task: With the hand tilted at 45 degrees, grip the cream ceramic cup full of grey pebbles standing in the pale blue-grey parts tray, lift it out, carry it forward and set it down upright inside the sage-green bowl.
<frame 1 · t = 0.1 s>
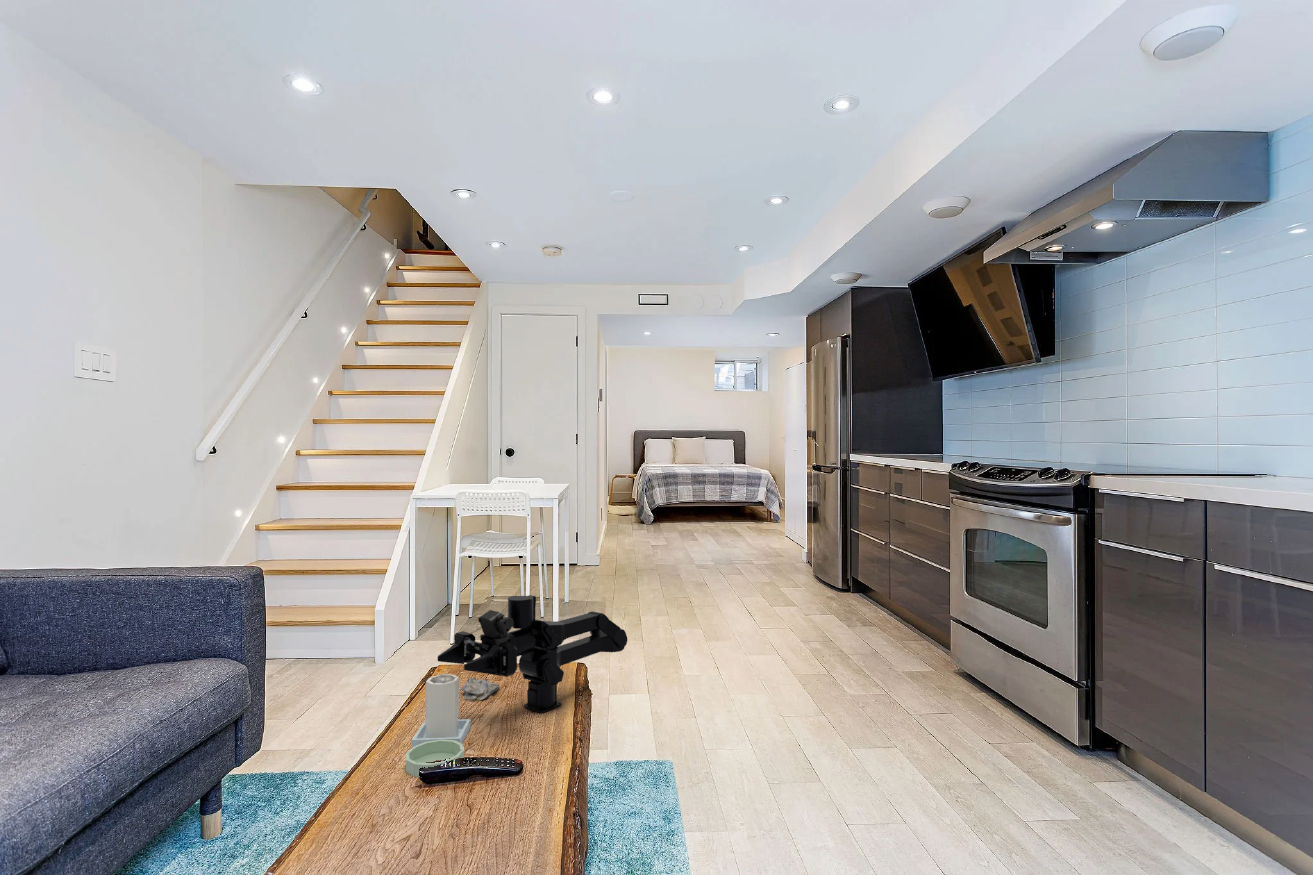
hand: (450, 662, 133), 17 cm above the table, fingers open, 9 cm apart
mineral specimen: (479, 695, 161), on the table
pebble cup: (442, 737, 134), point 1 cm above the table, touching parts tray
parts tray: (442, 741, 134), on the table
bowl: (435, 767, 123), on the table
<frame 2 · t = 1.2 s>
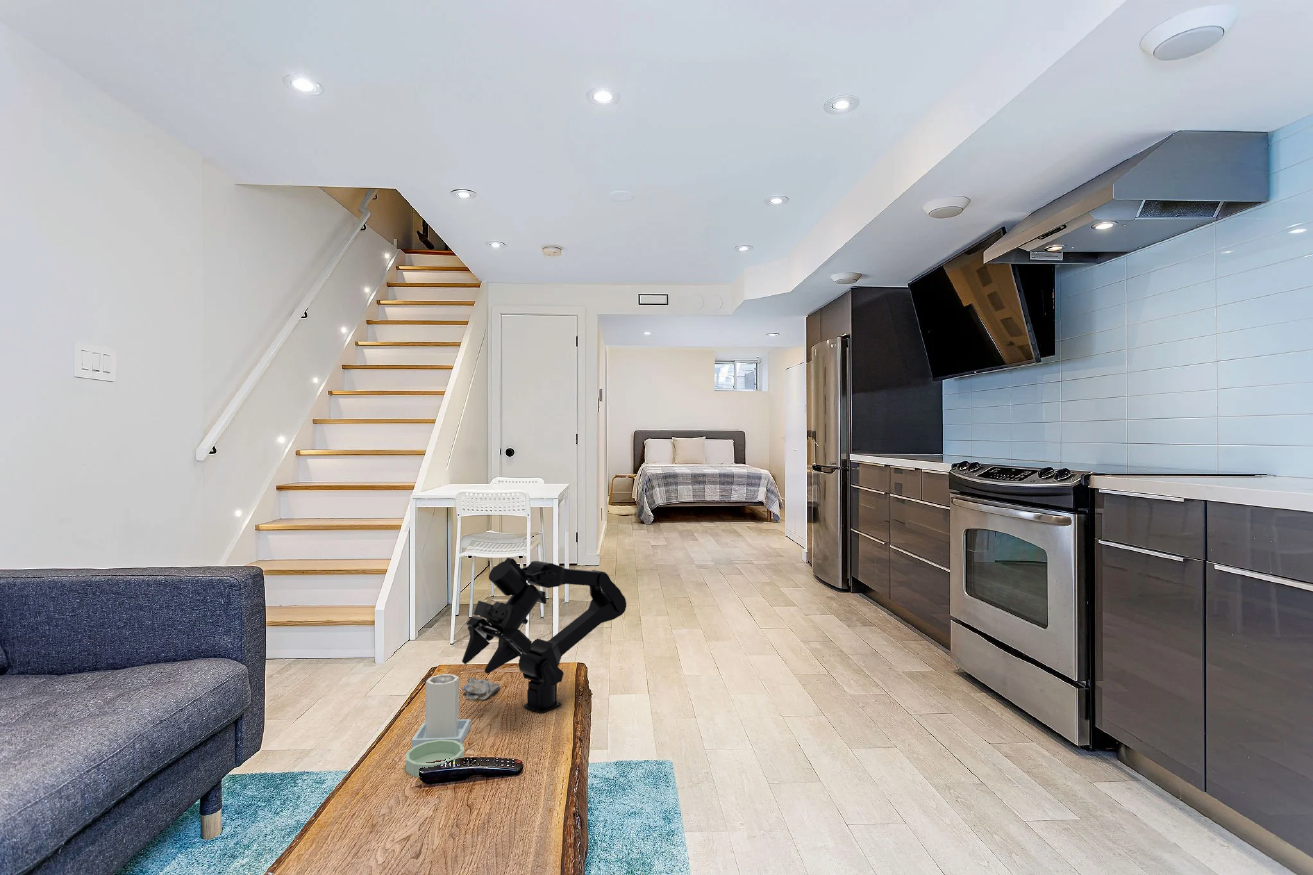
hand: (474, 667, 140), 13 cm above the table, fingers open, 9 cm apart
nothing on the table moved.
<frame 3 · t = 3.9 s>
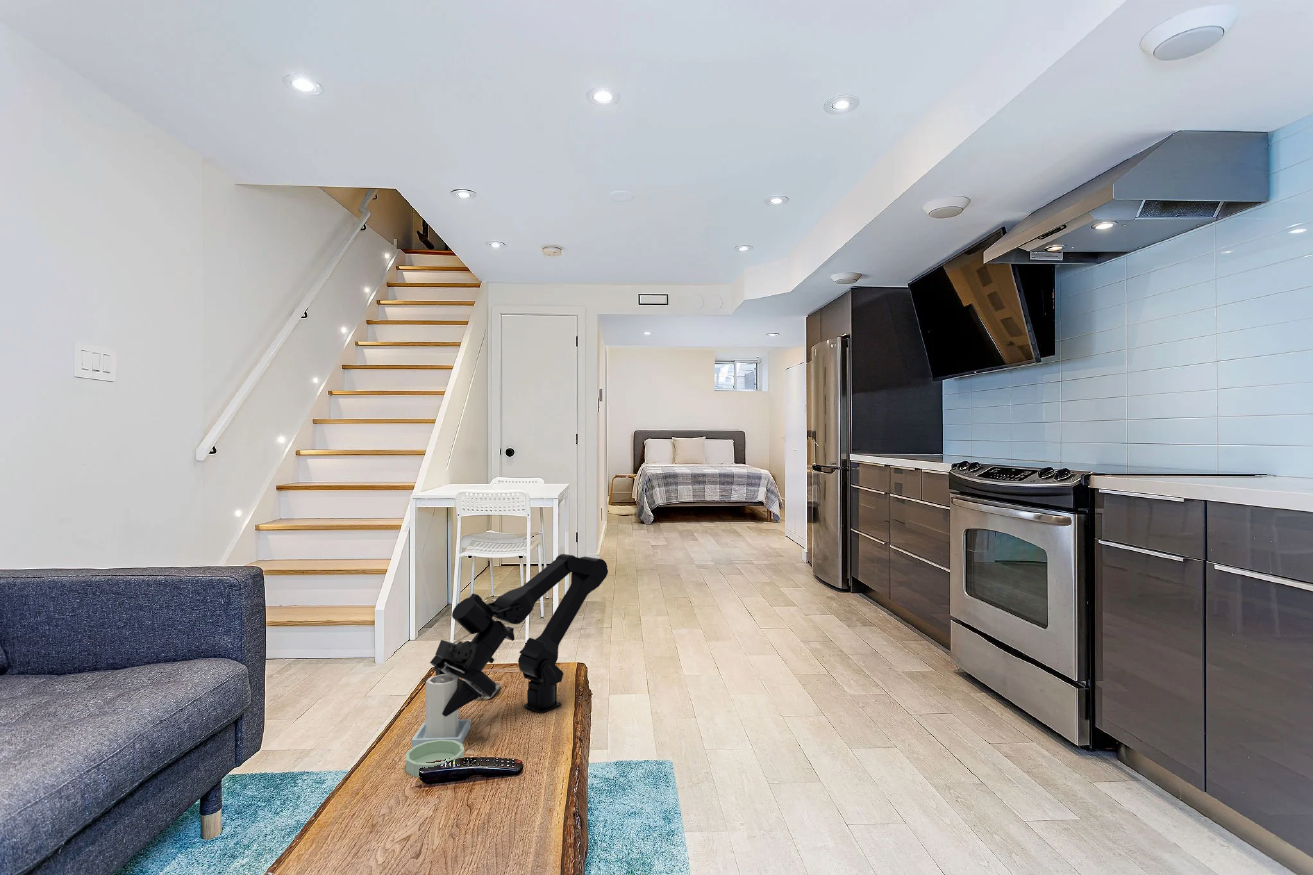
hand: (436, 711, 133), 7 cm above the table, fingers closed on pebble cup, 6 cm apart
pebble cup: (442, 737, 134), point 1 cm above the table, touching gripper, parts tray
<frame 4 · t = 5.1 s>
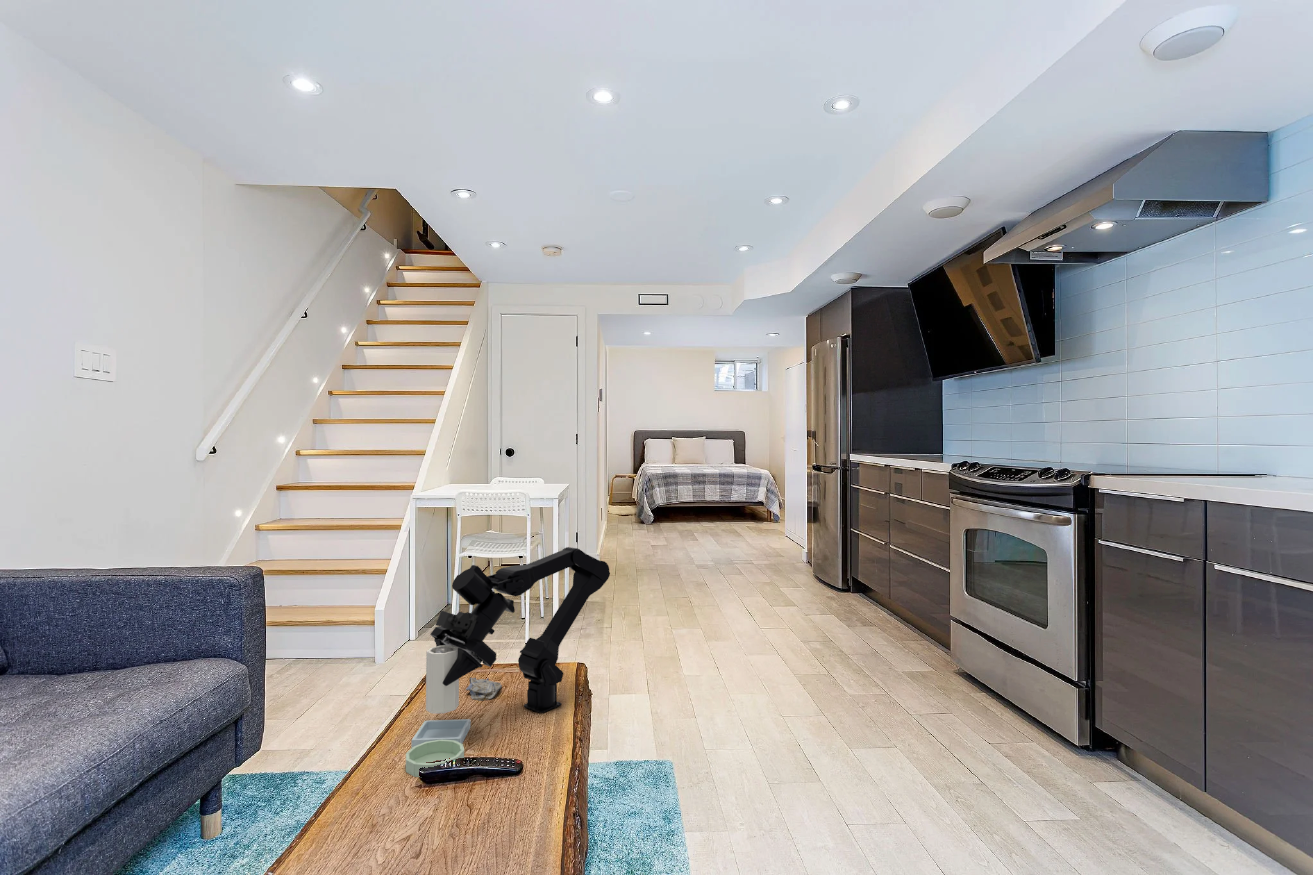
hand: (436, 680, 134), 13 cm above the table, fingers closed on pebble cup, 6 cm apart
pebble cup: (442, 707, 134), point 7 cm above the table, touching gripper
everything else where it was.
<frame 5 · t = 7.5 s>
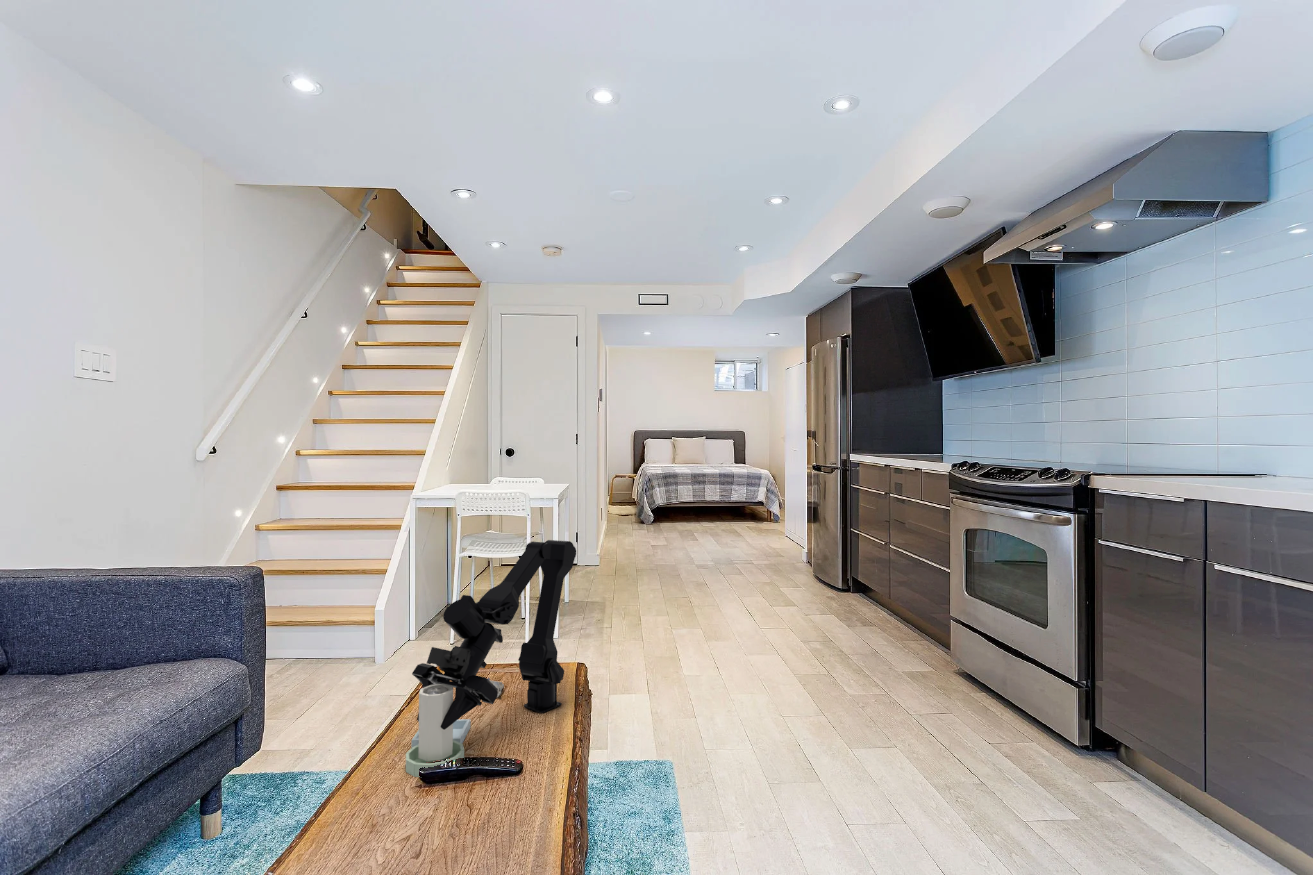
hand: (430, 724, 122), 8 cm above the table, fingers closed on pebble cup, 6 cm apart
pebble cup: (435, 753, 123), point 3 cm above the table, touching gripper
when the fingers open (8 cm above the table, at t = 8.2 s): pebble cup stays where it is, resting on bowl.
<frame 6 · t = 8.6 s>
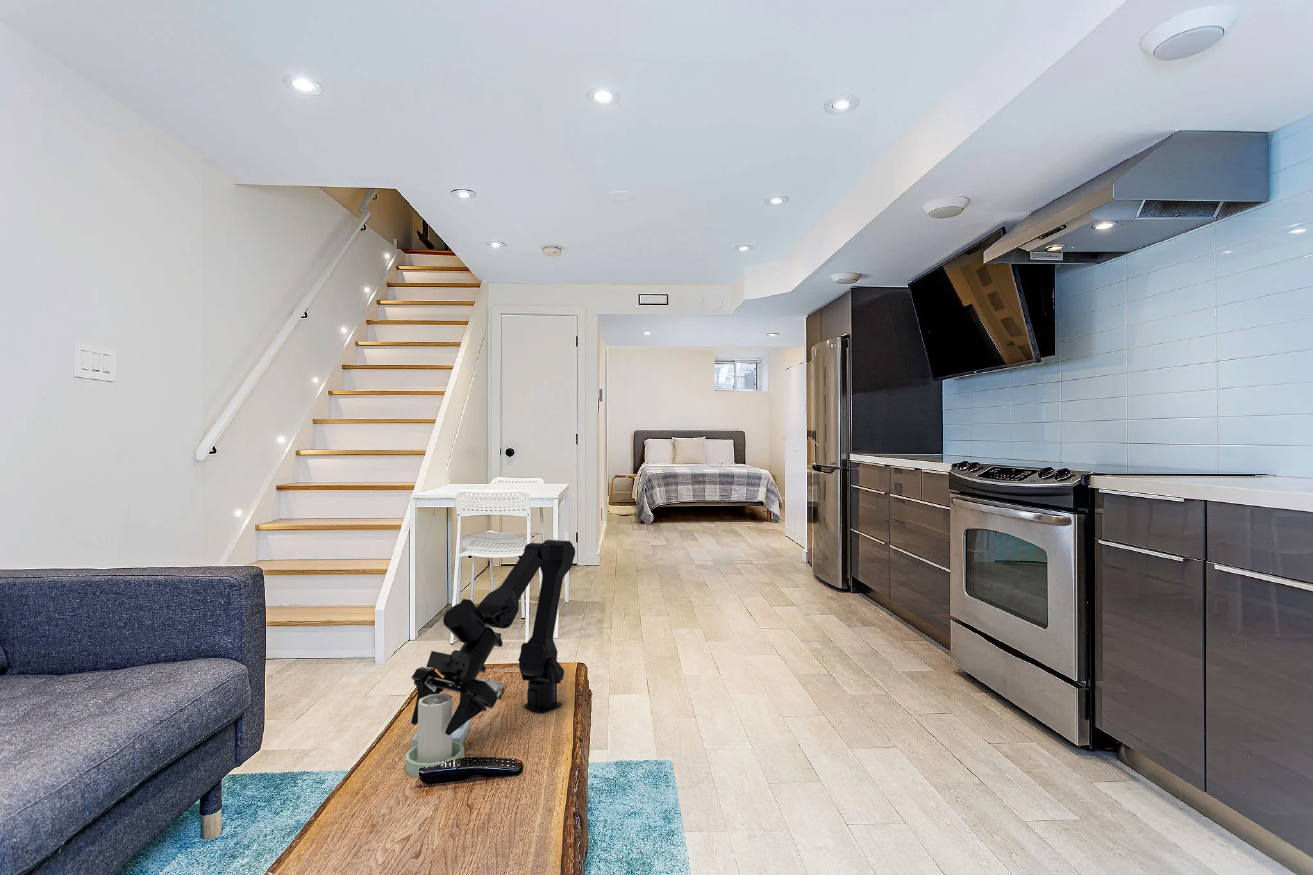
hand: (429, 729, 122), 8 cm above the table, fingers open, 9 cm apart
pebble cup: (434, 763, 123), point 1 cm above the table, touching bowl
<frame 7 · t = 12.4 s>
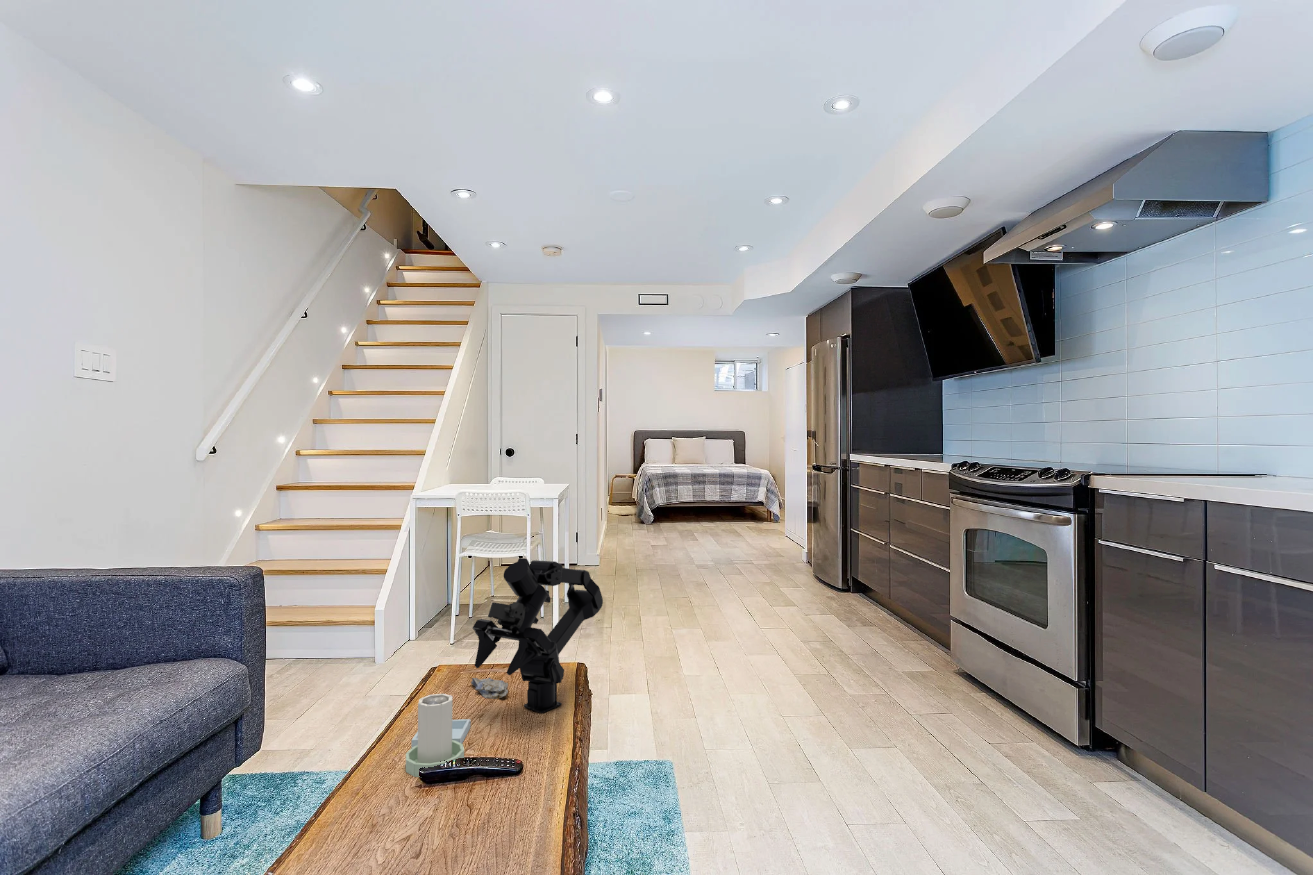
hand: (491, 670, 138), 14 cm above the table, fingers open, 9 cm apart
at the end: pebble cup 0.0 cm off-centre on the bowl, point 0.8 cm above the bowl's base; pebble cup tilted 0°; the gripper is holding nothing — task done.
